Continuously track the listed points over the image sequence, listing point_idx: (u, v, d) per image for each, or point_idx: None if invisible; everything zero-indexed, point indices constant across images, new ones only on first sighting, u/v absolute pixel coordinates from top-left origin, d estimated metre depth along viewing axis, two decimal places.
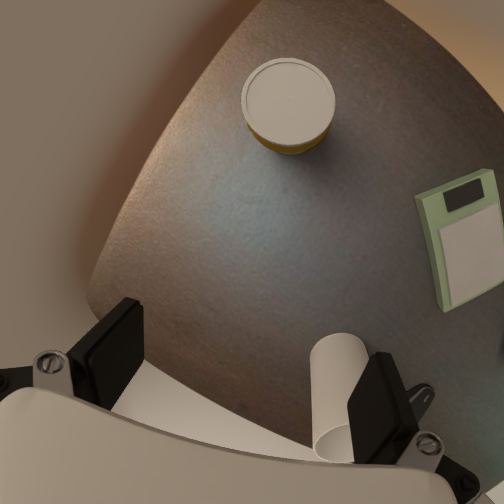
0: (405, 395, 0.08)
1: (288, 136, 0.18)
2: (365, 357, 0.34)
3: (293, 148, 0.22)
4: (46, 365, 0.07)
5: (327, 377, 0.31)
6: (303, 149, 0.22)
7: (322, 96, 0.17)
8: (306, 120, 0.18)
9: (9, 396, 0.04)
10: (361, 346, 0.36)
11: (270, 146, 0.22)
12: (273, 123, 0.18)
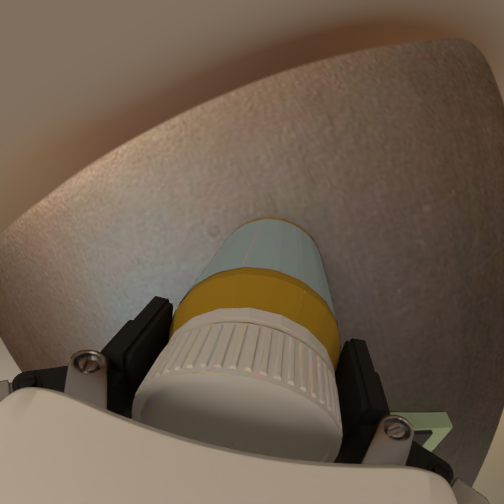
0: (375, 380, 0.08)
1: None
2: None
3: None
4: (83, 365, 0.07)
5: None
6: None
7: None
8: None
9: (9, 396, 0.04)
10: None
11: None
12: None
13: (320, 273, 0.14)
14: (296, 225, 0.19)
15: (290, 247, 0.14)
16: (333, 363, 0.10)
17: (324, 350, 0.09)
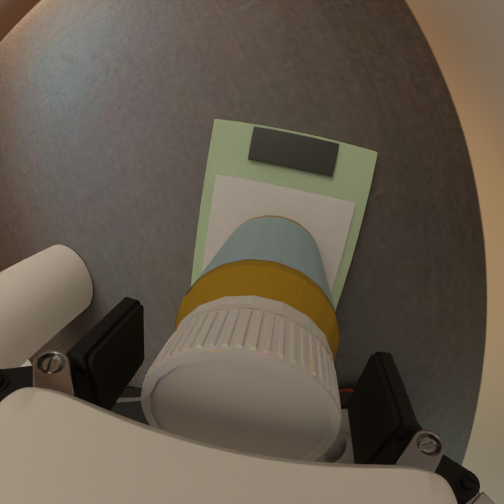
0: (405, 395, 0.08)
1: None
2: (64, 289, 0.24)
3: None
4: (46, 365, 0.07)
5: (5, 270, 0.20)
6: None
7: (301, 447, 0.08)
8: None
9: (9, 396, 0.04)
10: (77, 278, 0.26)
11: None
12: (186, 432, 0.08)
13: (319, 267, 0.14)
14: (296, 222, 0.20)
15: (290, 243, 0.15)
16: (332, 350, 0.10)
17: (323, 336, 0.09)
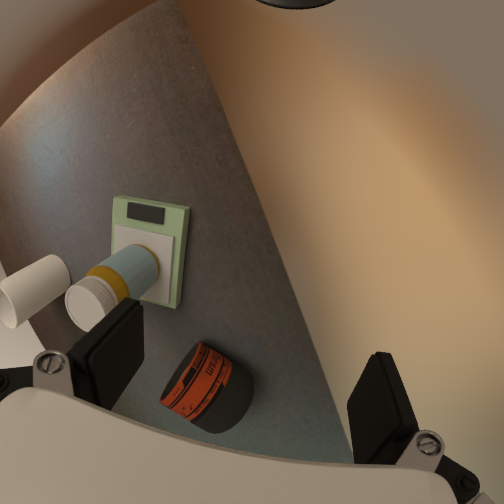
0: (405, 395, 0.08)
1: (80, 323, 0.30)
2: (54, 278, 0.46)
3: None
4: (46, 365, 0.07)
5: (23, 268, 0.42)
6: None
7: (100, 320, 0.29)
8: (89, 323, 0.30)
9: (9, 396, 0.04)
10: (61, 273, 0.48)
11: None
12: (75, 313, 0.30)
13: (133, 268, 0.36)
14: (145, 247, 0.41)
15: (124, 258, 0.36)
16: (119, 295, 0.32)
17: (110, 288, 0.31)
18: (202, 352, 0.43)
